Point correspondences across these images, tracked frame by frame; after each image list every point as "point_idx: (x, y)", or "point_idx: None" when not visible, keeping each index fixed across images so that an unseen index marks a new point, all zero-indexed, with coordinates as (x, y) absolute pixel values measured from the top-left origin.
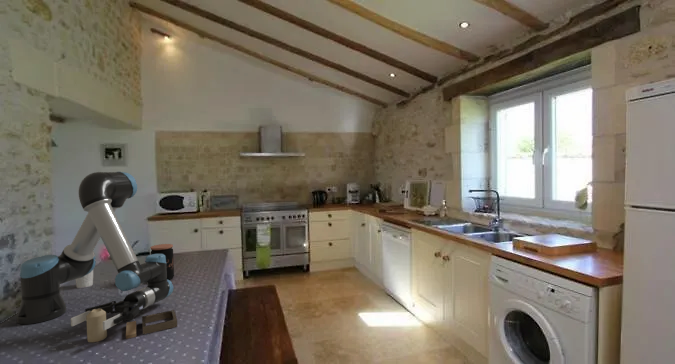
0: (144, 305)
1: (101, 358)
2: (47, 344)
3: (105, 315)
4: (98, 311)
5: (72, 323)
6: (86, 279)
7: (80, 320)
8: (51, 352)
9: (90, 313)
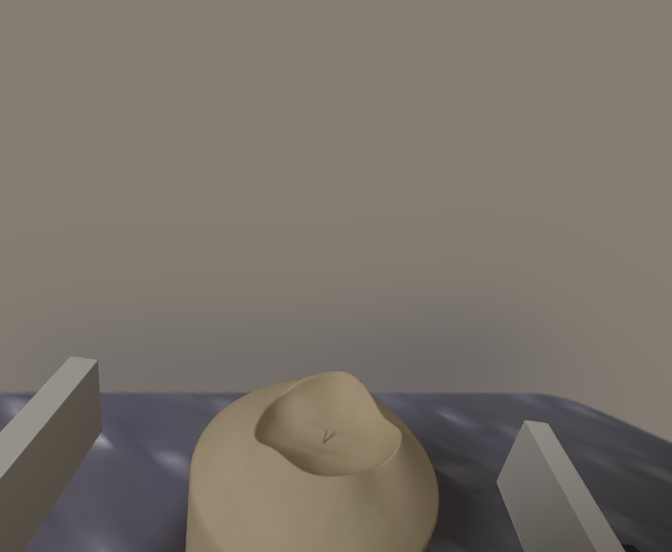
0: None
1: (30, 392)
2: None
3: (192, 532)
4: (311, 463)
5: (507, 460)
6: None
7: (542, 547)
8: (418, 437)
9: (336, 378)
